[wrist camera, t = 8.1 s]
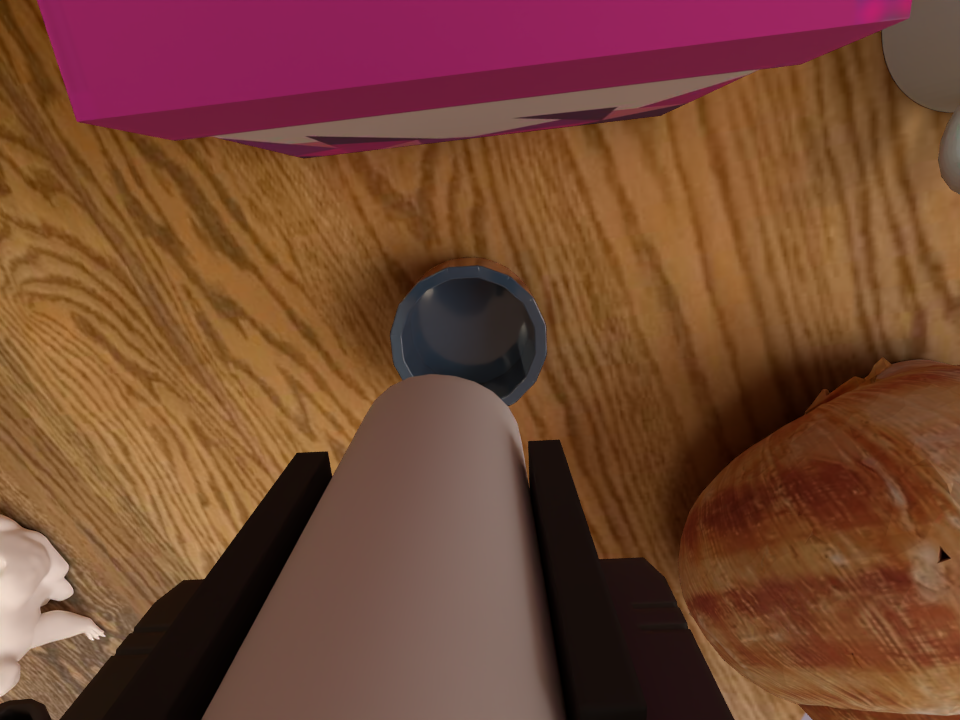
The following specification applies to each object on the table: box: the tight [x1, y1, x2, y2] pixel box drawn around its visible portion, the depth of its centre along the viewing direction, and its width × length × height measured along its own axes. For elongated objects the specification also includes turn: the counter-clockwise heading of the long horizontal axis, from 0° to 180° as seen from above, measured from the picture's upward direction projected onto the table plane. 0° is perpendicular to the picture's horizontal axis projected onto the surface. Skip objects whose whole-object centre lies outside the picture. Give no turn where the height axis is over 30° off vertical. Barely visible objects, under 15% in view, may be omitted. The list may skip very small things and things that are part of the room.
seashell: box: [678, 358, 960, 720], centre depth 25 cm, size 21×20×15 cm
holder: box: [390, 257, 547, 406], centre depth 27 cm, size 8×8×4 cm
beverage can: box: [201, 374, 568, 720], centre depth 9 cm, size 5×5×12 cm
